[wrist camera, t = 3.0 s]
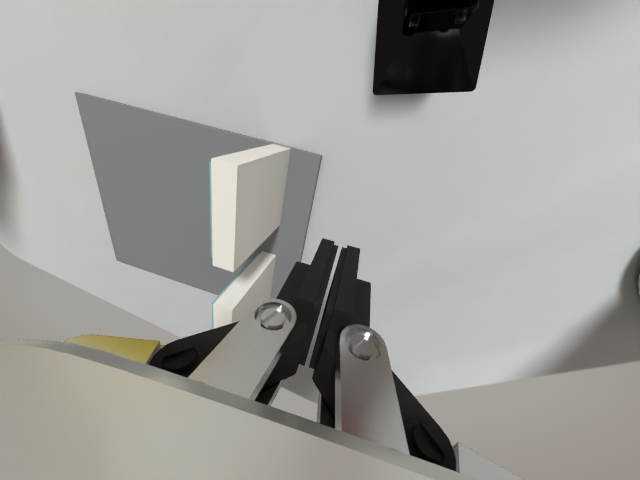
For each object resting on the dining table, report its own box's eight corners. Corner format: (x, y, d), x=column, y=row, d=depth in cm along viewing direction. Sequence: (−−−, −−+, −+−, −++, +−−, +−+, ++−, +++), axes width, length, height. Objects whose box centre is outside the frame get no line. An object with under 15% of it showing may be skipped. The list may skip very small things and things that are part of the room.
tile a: (290, 148, 17) (237, 165, 11) (280, 224, 20) (233, 272, 14) (269, 142, 17) (204, 156, 11) (261, 219, 20) (208, 263, 14)
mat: (322, 155, 17) (320, 156, 17) (289, 316, 25) (288, 319, 24) (80, 92, 19) (74, 92, 19) (120, 258, 27) (116, 260, 27)
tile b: (275, 255, 21) (232, 310, 15) (269, 305, 24) (230, 368, 18) (259, 249, 21) (209, 302, 15) (254, 300, 24) (210, 361, 18)
